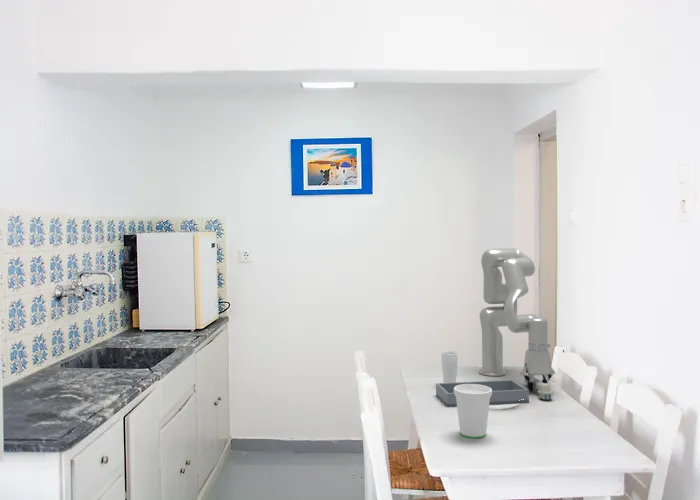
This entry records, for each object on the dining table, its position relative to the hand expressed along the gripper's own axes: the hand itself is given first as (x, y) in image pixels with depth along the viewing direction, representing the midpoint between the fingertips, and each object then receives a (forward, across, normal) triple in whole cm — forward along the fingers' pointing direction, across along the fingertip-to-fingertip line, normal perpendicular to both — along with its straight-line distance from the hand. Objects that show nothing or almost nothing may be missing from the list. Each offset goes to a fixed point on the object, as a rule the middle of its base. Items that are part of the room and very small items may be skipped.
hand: (537, 390), depth 244 cm
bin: (+1, +26, +4) cm, 26 cm away
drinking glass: (+2, +33, -16) cm, 36 cm away
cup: (+1, +43, +43) cm, 61 cm away
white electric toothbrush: (+1, 0, 0) cm, 1 cm away
